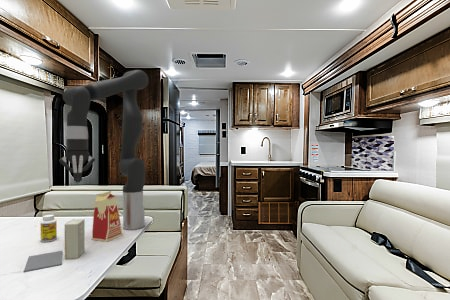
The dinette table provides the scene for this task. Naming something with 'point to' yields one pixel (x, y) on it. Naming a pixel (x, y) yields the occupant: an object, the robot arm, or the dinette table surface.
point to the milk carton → (106, 218)
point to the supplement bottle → (48, 228)
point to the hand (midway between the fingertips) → (77, 182)
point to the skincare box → (74, 238)
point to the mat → (43, 261)
